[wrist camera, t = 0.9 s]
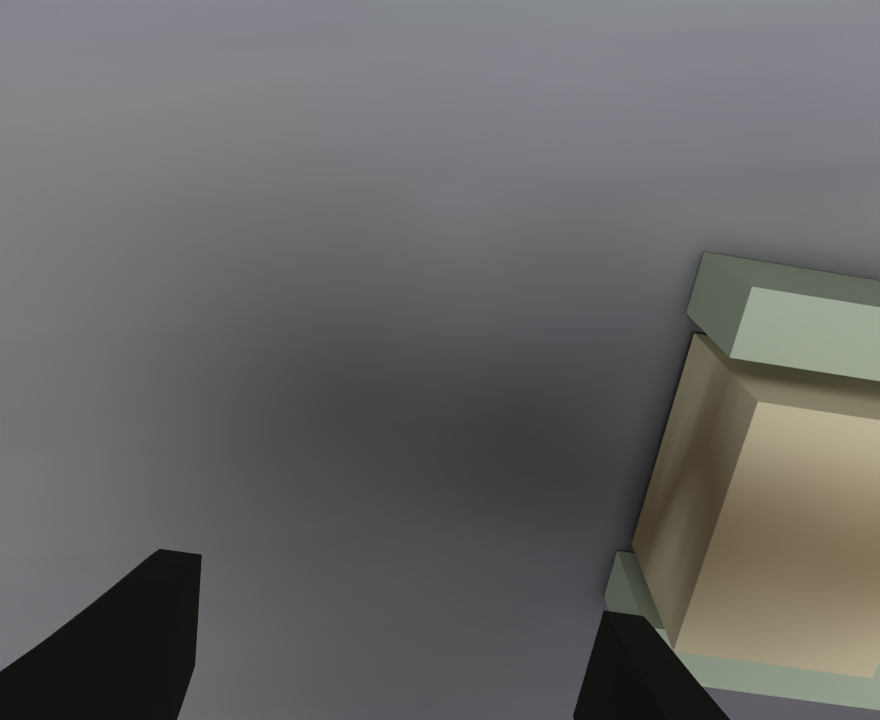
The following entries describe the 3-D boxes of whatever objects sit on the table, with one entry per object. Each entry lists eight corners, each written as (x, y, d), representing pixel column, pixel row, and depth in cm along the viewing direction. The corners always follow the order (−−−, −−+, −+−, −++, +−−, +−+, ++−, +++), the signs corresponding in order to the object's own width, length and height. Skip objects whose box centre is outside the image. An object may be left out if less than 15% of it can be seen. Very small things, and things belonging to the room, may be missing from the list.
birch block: (794, 567, 21) (872, 678, 17) (631, 544, 20) (673, 650, 17) (875, 362, 18) (984, 436, 15) (693, 333, 18) (758, 401, 15)
